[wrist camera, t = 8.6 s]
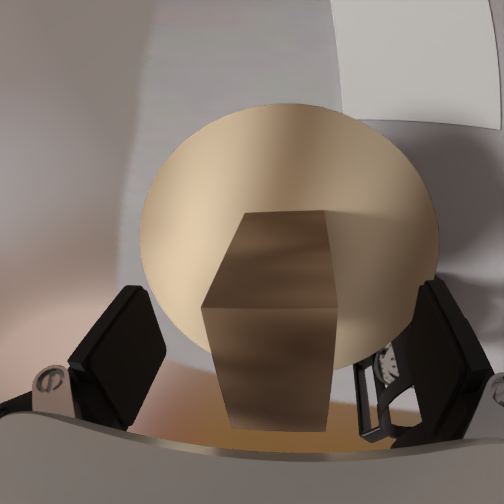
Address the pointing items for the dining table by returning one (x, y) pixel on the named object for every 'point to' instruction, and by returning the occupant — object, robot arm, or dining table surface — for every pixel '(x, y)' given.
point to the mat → (418, 61)
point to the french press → (387, 393)
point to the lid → (287, 254)
